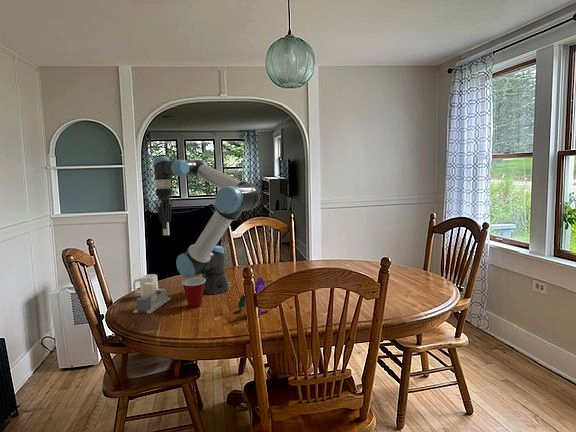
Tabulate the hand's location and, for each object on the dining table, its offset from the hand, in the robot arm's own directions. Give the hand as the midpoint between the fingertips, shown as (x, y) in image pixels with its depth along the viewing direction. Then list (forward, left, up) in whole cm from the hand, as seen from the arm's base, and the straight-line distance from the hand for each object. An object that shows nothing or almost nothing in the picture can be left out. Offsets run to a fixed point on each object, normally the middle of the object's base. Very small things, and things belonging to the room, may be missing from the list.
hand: (166, 235), depth 218 cm
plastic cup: (-22, +21, -30) cm, 42 cm away
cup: (+9, +8, -30) cm, 32 cm away
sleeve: (-2, +24, -27) cm, 36 cm away
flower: (-50, +27, -30) cm, 65 cm away
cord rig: (-2, +22, -29) cm, 37 cm away
